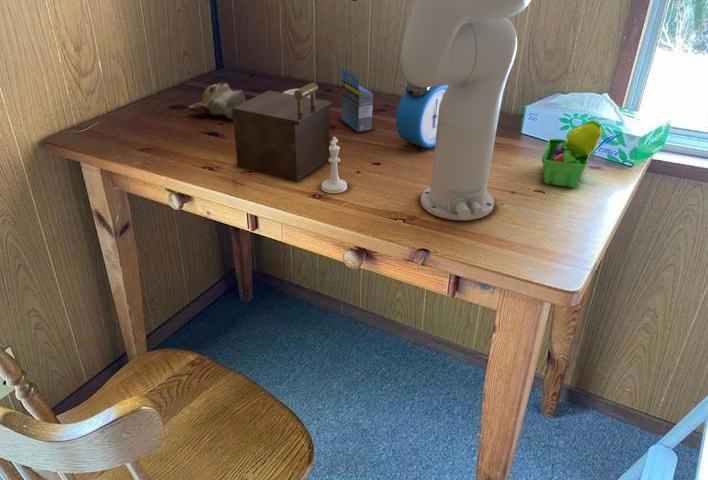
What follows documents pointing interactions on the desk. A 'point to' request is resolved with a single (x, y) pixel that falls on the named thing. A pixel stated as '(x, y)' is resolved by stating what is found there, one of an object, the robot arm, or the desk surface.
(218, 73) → the desk surface
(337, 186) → the chess piece
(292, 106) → the lid
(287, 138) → the chest
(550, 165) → the fruit basket
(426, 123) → the alarm clock
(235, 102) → the ceramic sculpture
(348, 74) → the blue cardboard box
